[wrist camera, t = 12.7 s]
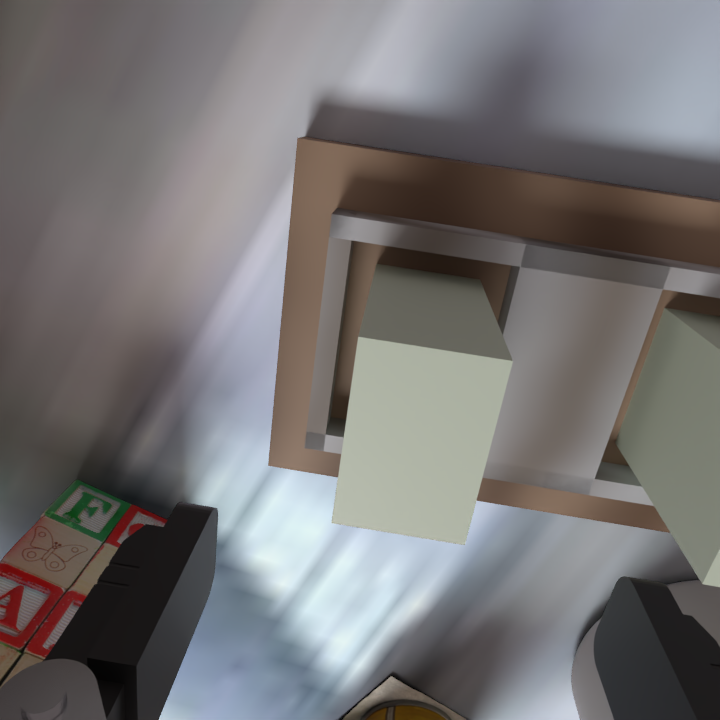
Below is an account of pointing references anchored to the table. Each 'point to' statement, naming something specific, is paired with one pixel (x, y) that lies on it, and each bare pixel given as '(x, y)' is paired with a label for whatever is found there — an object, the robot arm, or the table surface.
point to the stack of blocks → (59, 570)
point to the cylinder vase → (704, 602)
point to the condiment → (400, 705)
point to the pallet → (494, 307)
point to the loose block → (421, 405)
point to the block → (680, 434)
